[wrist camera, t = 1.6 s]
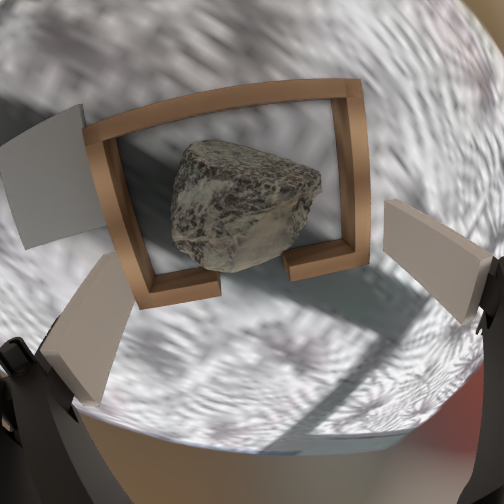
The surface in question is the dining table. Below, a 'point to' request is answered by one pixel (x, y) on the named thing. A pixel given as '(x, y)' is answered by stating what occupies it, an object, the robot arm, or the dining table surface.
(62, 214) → the slate coaster
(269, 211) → the stone
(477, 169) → the dining table surface
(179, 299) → the frame
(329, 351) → the dining table surface
